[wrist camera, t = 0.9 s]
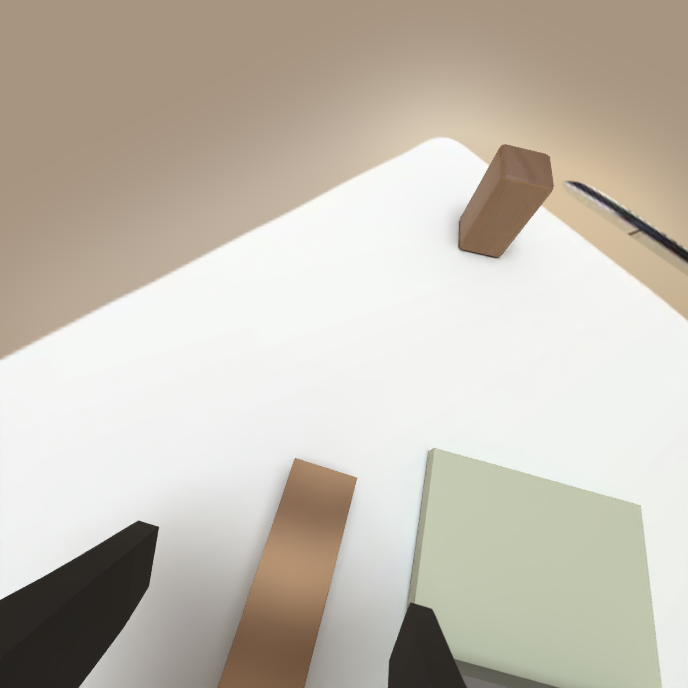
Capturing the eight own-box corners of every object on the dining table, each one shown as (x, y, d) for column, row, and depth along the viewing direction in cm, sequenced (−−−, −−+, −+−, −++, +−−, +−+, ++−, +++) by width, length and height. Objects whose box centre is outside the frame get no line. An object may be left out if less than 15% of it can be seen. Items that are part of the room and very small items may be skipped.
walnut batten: (247, 852, 16) (231, 976, 12) (174, 828, 16) (132, 942, 12) (344, 486, 24) (357, 477, 19) (294, 470, 24) (295, 458, 19)
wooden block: (498, 227, 35) (551, 152, 28) (499, 259, 33) (556, 188, 26) (458, 218, 35) (501, 140, 28) (457, 250, 33) (503, 176, 26)
